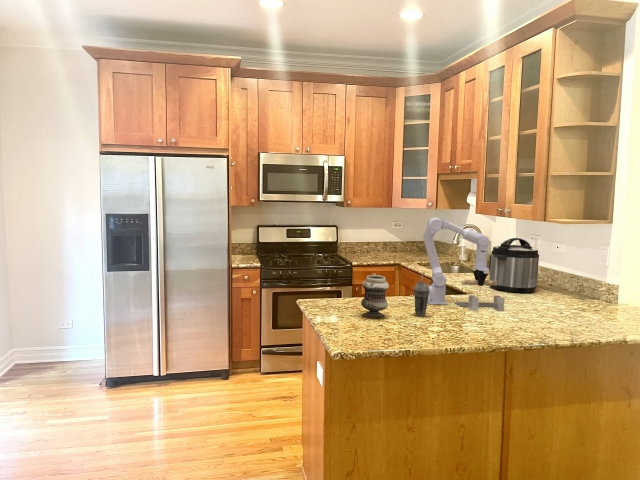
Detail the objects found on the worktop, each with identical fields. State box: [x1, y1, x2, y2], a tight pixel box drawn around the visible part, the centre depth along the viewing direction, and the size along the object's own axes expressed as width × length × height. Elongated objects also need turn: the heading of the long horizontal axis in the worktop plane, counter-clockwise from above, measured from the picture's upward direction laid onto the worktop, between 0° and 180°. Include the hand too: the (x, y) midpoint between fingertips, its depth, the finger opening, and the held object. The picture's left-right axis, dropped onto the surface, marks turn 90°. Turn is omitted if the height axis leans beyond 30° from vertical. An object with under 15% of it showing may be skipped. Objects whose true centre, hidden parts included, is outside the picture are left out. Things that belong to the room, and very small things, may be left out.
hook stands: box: [467, 294, 505, 312], centre depth 230 cm, size 16×5×6 cm, turn 95°
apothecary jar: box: [360, 274, 390, 319], centre depth 210 cm, size 12×12×18 cm
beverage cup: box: [413, 272, 430, 318], centre depth 213 cm, size 7×7×20 cm
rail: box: [461, 279, 498, 286], centre depth 238 cm, size 18×2×2 cm, turn 94°
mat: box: [453, 301, 494, 308], centre depth 239 cm, size 22×8×1 cm, turn 95°
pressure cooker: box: [488, 237, 540, 294], centre depth 285 cm, size 30×28×32 cm
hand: (479, 285), depth 238 cm, fingers closed on rail, 2 cm apart
